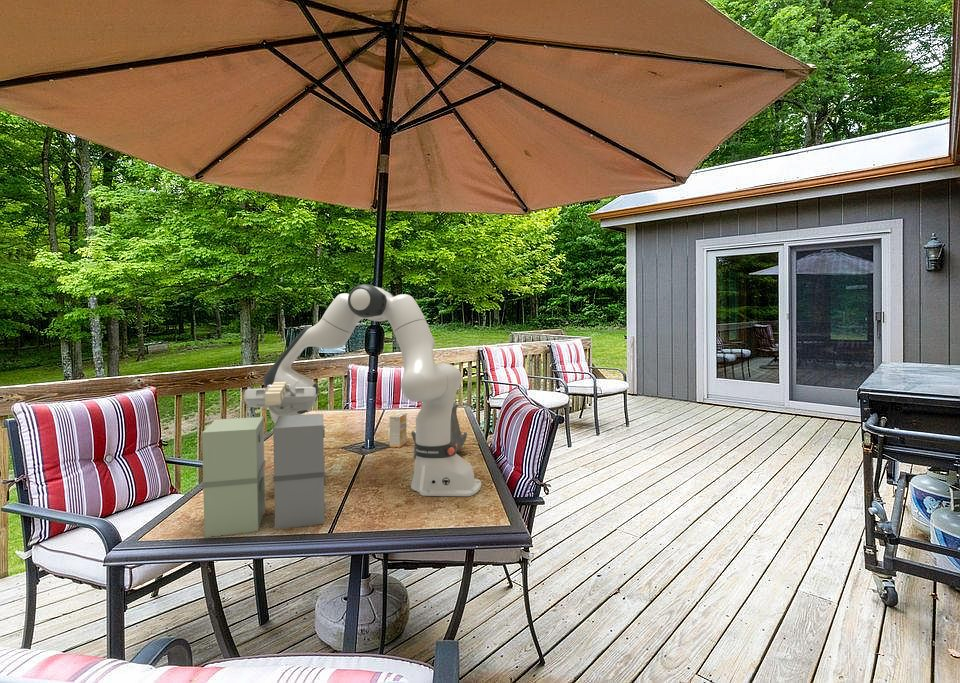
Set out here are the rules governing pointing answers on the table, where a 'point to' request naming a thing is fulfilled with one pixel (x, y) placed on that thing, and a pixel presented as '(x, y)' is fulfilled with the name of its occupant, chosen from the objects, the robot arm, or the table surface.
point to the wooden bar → (275, 393)
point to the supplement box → (398, 430)
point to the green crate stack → (233, 476)
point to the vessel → (452, 430)
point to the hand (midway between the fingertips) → (279, 386)
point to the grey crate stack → (299, 470)
